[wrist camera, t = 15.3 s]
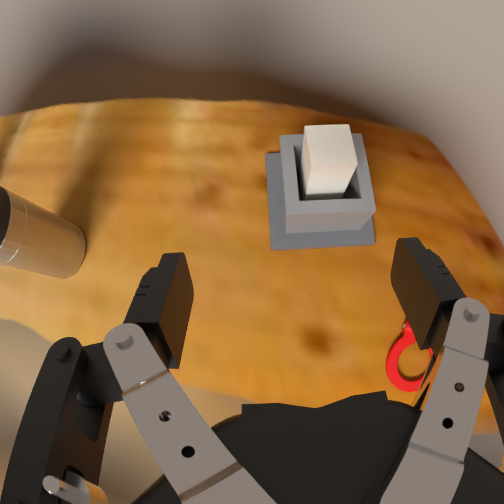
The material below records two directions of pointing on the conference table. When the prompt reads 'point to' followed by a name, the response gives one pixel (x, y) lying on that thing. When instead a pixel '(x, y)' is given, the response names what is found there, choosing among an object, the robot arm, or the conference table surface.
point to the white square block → (326, 162)
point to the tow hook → (393, 358)
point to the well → (317, 203)
